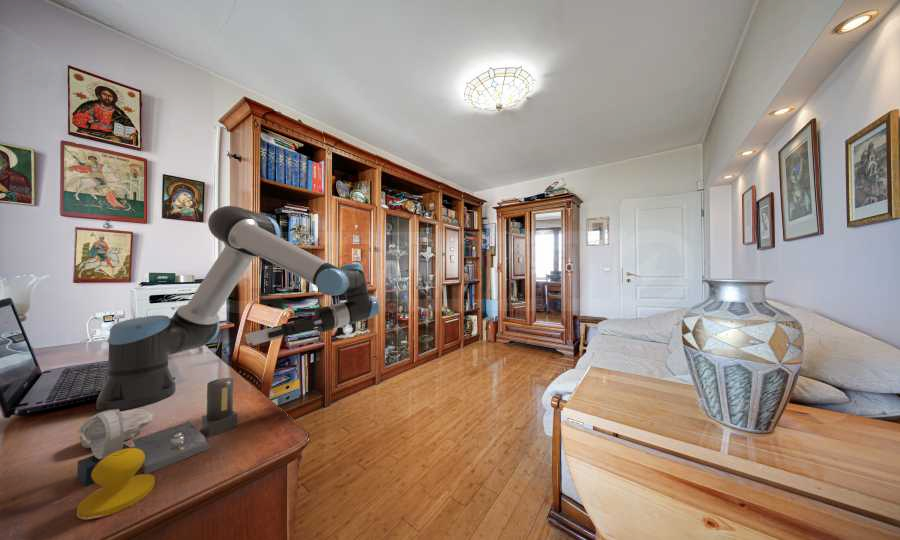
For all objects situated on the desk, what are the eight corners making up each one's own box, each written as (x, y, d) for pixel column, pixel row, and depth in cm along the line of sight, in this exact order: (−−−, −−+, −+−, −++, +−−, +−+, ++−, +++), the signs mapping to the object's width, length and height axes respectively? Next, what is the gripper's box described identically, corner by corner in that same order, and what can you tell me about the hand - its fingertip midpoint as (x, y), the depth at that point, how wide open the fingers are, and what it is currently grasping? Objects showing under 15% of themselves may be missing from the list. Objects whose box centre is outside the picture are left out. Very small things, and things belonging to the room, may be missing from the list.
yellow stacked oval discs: (123, 515, 41) (57, 524, 40) (167, 477, 49) (113, 483, 47) (125, 466, 41) (59, 473, 40) (168, 435, 49) (115, 440, 48)
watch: (119, 456, 54) (121, 401, 54) (136, 469, 51) (138, 410, 51) (72, 475, 49) (74, 414, 49) (88, 490, 46) (90, 424, 46)
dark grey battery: (201, 429, 64) (203, 382, 64) (228, 419, 68) (230, 375, 68) (209, 437, 61) (210, 388, 61) (237, 426, 65) (238, 380, 65)
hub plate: (131, 447, 57) (132, 429, 57) (189, 427, 65) (189, 411, 65) (145, 474, 49) (146, 454, 49) (209, 448, 57) (209, 431, 57)
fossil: (162, 416, 64) (103, 419, 56) (145, 447, 62) (81, 456, 53) (143, 406, 67) (84, 408, 59) (126, 436, 65) (62, 442, 56)
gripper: (348, 328, 76) (257, 356, 61) (321, 329, 94) (246, 351, 79) (343, 302, 76) (250, 324, 61) (317, 308, 94) (241, 326, 80)
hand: (248, 339), depth 70 cm, fingers open, 13 cm apart
